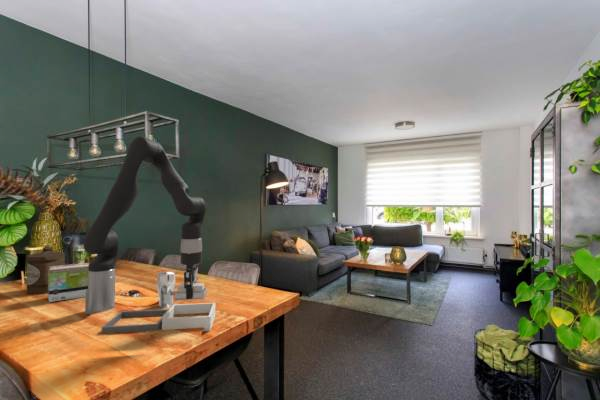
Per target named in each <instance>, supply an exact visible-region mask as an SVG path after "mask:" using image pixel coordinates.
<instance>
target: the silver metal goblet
mask: <svg viewBox="0 0 600 400" xmlns="http://www.w3.org/2000/svg"><path fill="white" fill-rule="evenodd" d="M156 284H157V285H156V286H157V293H158V294H157V295H158V298H159V299H158V300H159V301H158V302H159V303H158V307H159V308H160V309H161V308H162V309H164V308H165V309H166V308H171V307H172V306H173V305H174V295H171V292H172V291H175V289H176V272H175V271H171V270H168V271H160V272H158V273H157V283H156Z"/></svg>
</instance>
